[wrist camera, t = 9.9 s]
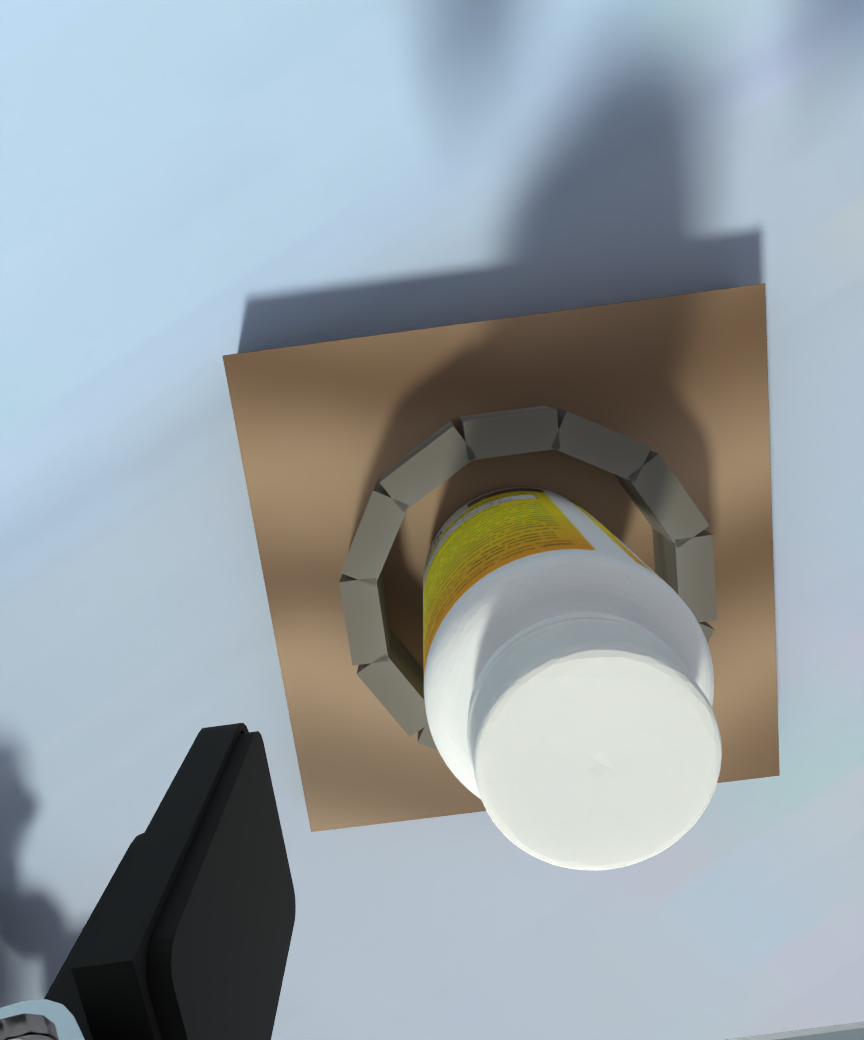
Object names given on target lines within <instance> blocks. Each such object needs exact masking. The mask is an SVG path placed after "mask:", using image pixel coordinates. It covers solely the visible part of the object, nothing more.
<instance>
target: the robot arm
mask: <svg viewBox="0 0 864 1040" xmlns="http://www.w3.org/2000/svg"><path fill="white" fill-rule="evenodd" d="M294 921H295V893H294V888H293V883H292V878H291V873H290V868H289V864H288V859H287V854H286V849H285V844H284V840H283V835H282V830H281V825H280V820H279V816H278V811H277V806H276V801H275V796H274V791H273V787H272V782H271V777H270V772H269V767H268V763H267V758H266V753H265V748H264V743H263V740H262V736H261V734H260V733H259V732H258V731H257V732H250V733H249V732H248V729H247V727H246V725H245V724H244V723H238V724H231V725H223V726H215V727H208V728H202V729H201V731H200V732H199V734H198V735H197V737H196V739H195V741H194V743H193V745H192V746H191V748H190V750H189V752H188V754H187V756H186V757H185V759H184V761H183V763H182V765H181V767H180V768H179V770H178V772H177V774H176V776H175V778H174V780H173V781H172V783H171V785H170V787H169V789H168V791H167V792H166V794H165V796H164V798H163V800H162V802H161V803H160V805H159V807H158V809H157V811H156V813H155V815H154V816H153V818H152V820H151V822H150V824H149V826H148V827H147V829H146V831H145V833H142V834H140V835H138V836H137V837H136V838H135V839H134V840H133V842H132V843H131V844H130V846H129V848H128V850H127V852H126V853H125V855H124V857H123V859H122V860H121V862H120V864H119V866H118V868H117V869H116V871H115V873H114V875H113V877H112V878H111V880H110V882H109V884H108V886H107V887H106V889H105V891H104V893H103V894H102V896H101V898H100V900H99V902H98V903H97V905H96V907H95V909H94V911H93V912H92V914H91V916H90V918H89V920H88V921H87V923H86V925H85V927H84V928H83V930H82V932H81V934H80V936H79V937H78V939H77V941H76V943H75V945H74V946H73V948H72V950H71V952H70V954H69V955H68V957H67V959H66V961H65V962H64V964H63V966H62V968H61V970H60V971H59V973H58V975H57V977H56V979H55V980H54V982H53V984H52V986H51V988H50V989H49V991H48V993H47V995H46V996H45V998H44V999H42V1000H24V1001H21V1002H18V1003H14V1004H11V1005H8V1006H5V1007H1V1008H0V1040H271V1036H272V1031H273V1026H274V1021H275V1016H276V1011H277V1006H278V1001H279V996H280V991H281V986H282V981H283V976H284V971H285V966H286V961H287V956H288V951H289V946H290V941H291V936H292V931H293V926H294ZM727 1040H864V1022H858V1023H850V1024H842V1025H834V1026H827V1027H819V1028H811V1029H804V1030H796V1031H788V1032H781V1033H773V1034H765V1035H758V1036H750V1037H742V1038H735V1039H727Z"/></svg>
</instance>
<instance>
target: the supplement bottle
mask: <svg viewBox="0 0 864 1040" xmlns="http://www.w3.org/2000/svg"><path fill="white" fill-rule="evenodd" d="M423 666H424V700H425V708H426V715H427V720H428V724H429V728H430V732H431V735H432V737H433V740H434V743H435V745H436V747H437V749H438V751H439V753H440V755H441V757H442V758H443V760H444V761H445V763H446V765H447V766H448V768H449V769H450V770H451V771H452V773H453V774H454V775H455V777H456V778H457V779H458V780H459V781H460V782H461V783H462V784H463V785H464V786H465V787H466V788H467V789H468V790H469V791H470V792H472V793H473V794H474V795H476V796H477V797H478V798H480V799H481V800H482V802H483V804H484V807H485V809H486V811H487V813H488V814H489V816H490V817H491V819H492V820H493V822H494V823H495V824H496V826H497V827H498V828H499V829H500V830H501V832H502V833H503V834H504V835H505V836H506V837H507V838H508V839H509V840H510V841H512V842H513V843H514V844H515V845H516V846H517V847H519V848H521V849H522V850H524V851H525V852H527V853H529V854H530V855H532V856H534V857H536V858H537V859H540V860H542V861H545V862H547V863H550V864H553V865H556V866H560V867H565V868H569V869H578V870H609V869H614V868H620V867H626V866H629V865H632V864H635V863H638V862H640V861H643V860H645V859H648V858H651V857H653V856H654V855H656V854H658V853H660V852H662V851H664V850H665V849H667V848H668V847H669V846H671V845H672V844H674V843H675V842H676V841H677V840H679V839H680V838H681V837H682V836H683V835H684V834H685V833H686V832H687V831H688V830H689V829H690V828H691V827H692V826H693V825H694V824H695V823H696V822H697V820H698V819H699V818H700V816H701V815H702V813H703V812H704V810H705V809H706V807H707V805H708V803H709V802H710V799H711V797H712V795H713V793H714V790H715V788H716V785H717V781H718V777H719V774H720V768H721V759H722V744H721V736H720V730H719V727H718V723H717V719H716V716H715V714H714V711H713V709H712V705H713V698H714V673H713V664H712V659H711V654H710V651H709V647H708V644H707V641H706V638H705V636H704V634H703V631H702V629H701V627H700V625H699V623H698V622H697V620H696V618H695V616H694V615H693V613H692V612H691V610H690V609H689V607H688V606H687V605H686V604H685V602H684V601H683V600H682V599H681V598H680V596H679V595H678V594H677V593H676V592H675V591H674V590H673V589H672V588H671V587H670V586H669V585H668V584H667V583H666V582H665V581H664V580H663V579H662V578H661V577H659V576H658V575H657V574H656V573H655V572H654V571H653V570H652V569H651V568H650V567H648V566H647V565H646V564H645V563H644V562H643V561H642V560H641V559H640V558H638V557H637V556H636V555H635V554H634V553H633V552H632V551H631V550H630V549H628V548H627V547H626V546H625V545H624V544H623V543H622V542H621V541H620V540H619V539H618V538H617V537H616V536H615V535H613V534H612V533H611V532H610V531H609V530H608V529H607V528H606V527H604V526H603V524H601V523H600V522H599V521H597V520H596V519H595V518H594V517H593V516H592V515H591V514H590V513H588V512H587V511H586V510H585V509H583V508H582V507H580V506H579V505H578V504H576V503H575V502H573V501H571V500H569V499H568V498H566V497H564V496H562V495H559V494H557V493H554V492H551V491H548V490H543V489H539V488H531V487H513V488H505V489H500V490H497V491H493V492H490V493H487V494H484V495H481V496H479V497H477V498H475V499H473V500H471V501H470V502H468V503H467V504H465V505H464V506H462V507H461V508H460V509H459V510H457V511H456V512H455V513H454V514H453V515H452V516H451V517H450V518H449V519H448V520H447V521H446V523H445V524H444V525H443V526H442V528H441V529H440V530H439V532H438V534H437V535H436V537H435V539H434V541H433V543H432V545H431V547H430V550H429V552H428V555H427V559H426V563H425V569H424V576H423Z"/></svg>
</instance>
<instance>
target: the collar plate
mask: <svg viewBox="0 0 864 1040" xmlns="http://www.w3.org/2000/svg"><path fill="white" fill-rule="evenodd" d="M223 361H224V366H225V371H226V377H227V382H228V387H229V393H230V398H231V404H232V409H233V414H234V420H235V425H236V430H237V436H238V441H239V447H240V452H241V457H242V463H243V468H244V473H245V479H246V484H247V489H248V495H249V500H250V506H251V511H252V516H253V522H254V527H255V532H256V538H257V543H258V549H259V554H260V559H261V565H262V570H263V575H264V581H265V586H266V592H267V597H268V602H269V608H270V613H271V618H272V624H273V629H274V635H275V640H276V645H277V651H278V656H279V661H280V667H281V672H282V677H283V683H284V688H285V694H286V699H287V704H288V710H289V715H290V720H291V726H292V731H293V737H294V742H295V747H296V753H297V758H298V763H299V769H300V774H301V780H302V785H303V790H304V796H305V801H306V806H307V812H308V817H309V823H310V828H311V832H314V831H323V830H331V829H339V828H347V827H356V826H364V825H372V824H381V823H389V822H397V821H406V820H414V819H422V818H430V817H439V816H447V815H455V814H464V813H472V812H480V811H486V809H485V807H484V804H483V802H482V800H481V799H480V798H478V797H477V796H476V795H474V794H473V793H472V792H470V791H469V790H468V789H467V788H466V787H465V786H464V785H463V784H462V783H461V782H460V781H459V780H458V779H457V778H456V777H455V775H454V774H453V773H452V771H451V770H450V769H449V768H448V766H447V765H446V763H445V761H444V760H443V758H442V757H441V755H440V753H439V751H438V749H437V747H436V745H435V743H434V740H433V737H432V735H431V732H430V728H429V724H428V720H427V715H426V708H425V700H424V666H423V576H424V569H425V563H426V559H427V555H428V552H429V550H430V547H431V545H432V543H433V541H434V539H435V537H436V535H437V534H438V532H439V530H440V529H441V528H442V526H443V525H444V524H445V523H446V521H447V520H448V519H449V518H450V517H451V516H452V515H453V514H454V513H455V512H456V511H457V510H459V509H460V508H461V507H462V506H464V505H465V504H467V503H468V502H470V501H471V500H473V499H475V498H477V497H479V496H481V495H484V494H487V493H490V492H493V491H497V490H500V489H505V488H513V487H531V488H539V489H543V490H548V491H551V492H554V493H557V494H559V495H562V496H564V497H566V498H568V499H569V500H571V501H573V502H575V503H576V504H578V505H579V506H580V507H582V508H583V509H585V510H586V511H587V512H588V513H590V514H591V515H592V516H593V517H594V518H595V519H596V520H597V521H599V522H600V523H601V524H603V526H604V527H606V528H607V529H608V530H609V531H610V532H611V533H612V534H613V535H615V536H616V537H617V538H618V539H619V540H620V541H621V542H622V543H623V544H624V545H625V546H626V547H627V548H628V549H630V550H631V551H632V552H633V553H634V554H635V555H636V556H637V557H638V558H640V559H641V560H642V561H643V562H644V563H645V564H646V565H647V566H648V567H650V568H651V569H652V570H653V571H654V572H655V573H656V574H657V575H658V576H659V577H661V578H662V579H663V580H664V581H665V582H666V583H667V584H668V585H669V586H670V587H671V588H672V589H673V590H674V591H675V592H676V593H677V594H678V595H679V596H680V598H681V599H682V600H683V601H684V602H685V604H686V605H687V606H688V607H689V609H690V610H691V612H692V613H693V615H694V616H695V618H696V620H697V622H698V623H699V625H700V627H701V629H702V631H703V634H704V636H705V638H706V641H707V644H708V647H709V651H710V654H711V659H712V664H713V673H714V698H713V705H712V709H713V711H714V714H715V716H716V719H717V723H718V727H719V730H720V736H721V744H722V759H721V768H720V774H719V777H718V781H717V783H721V782H729V781H737V780H746V779H754V778H762V777H770V776H779V775H780V774H779V740H778V706H777V672H776V638H775V604H774V570H773V536H772V502H771V468H770V434H769V400H768V366H767V332H766V298H765V284H757V285H750V286H742V287H735V288H727V289H720V290H712V291H705V292H697V293H690V294H682V295H674V296H667V297H659V298H652V299H644V300H637V301H629V302H622V303H614V304H607V305H599V306H592V307H584V308H577V309H569V310H562V311H554V312H547V313H539V314H532V315H524V316H517V317H509V318H502V319H494V320H487V321H479V322H472V323H464V324H457V325H449V326H442V327H434V328H427V329H419V330H412V331H404V332H397V333H389V334H381V335H374V336H366V337H359V338H351V339H344V340H336V341H329V342H321V343H314V344H306V345H299V346H291V347H284V348H276V349H269V350H261V351H254V352H246V353H239V354H231V355H224V356H223Z"/></svg>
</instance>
